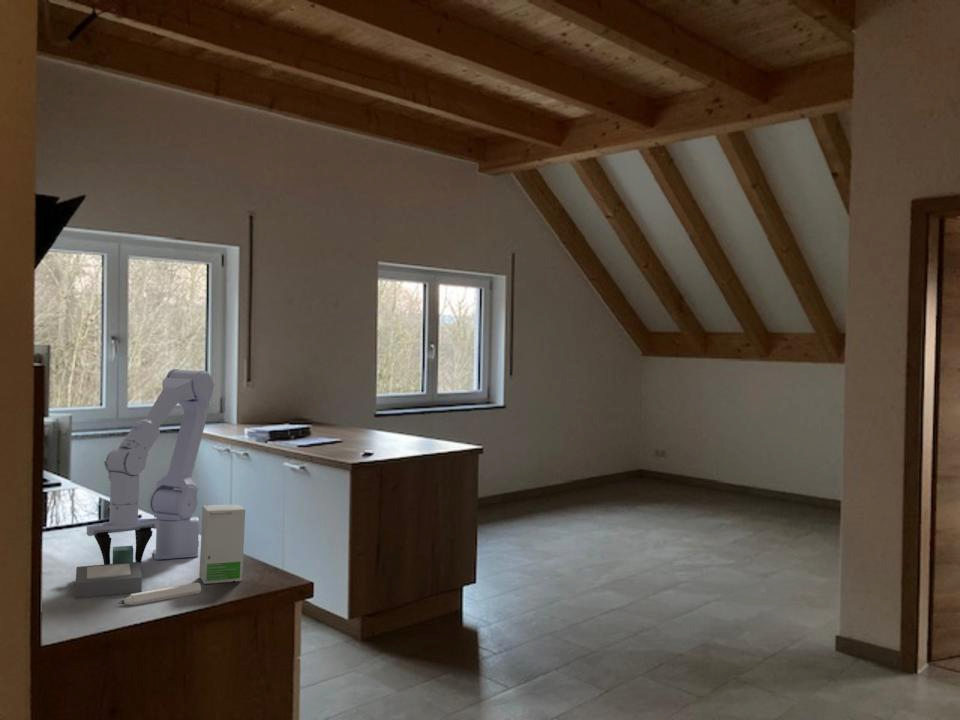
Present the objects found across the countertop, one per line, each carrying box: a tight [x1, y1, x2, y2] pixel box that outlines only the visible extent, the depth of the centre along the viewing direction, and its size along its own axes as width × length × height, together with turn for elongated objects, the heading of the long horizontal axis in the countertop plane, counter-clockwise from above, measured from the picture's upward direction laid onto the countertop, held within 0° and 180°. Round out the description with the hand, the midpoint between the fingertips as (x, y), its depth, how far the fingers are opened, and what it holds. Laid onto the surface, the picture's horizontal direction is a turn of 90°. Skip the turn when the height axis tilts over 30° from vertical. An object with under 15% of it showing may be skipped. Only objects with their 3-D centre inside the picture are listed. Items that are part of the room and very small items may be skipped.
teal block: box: [111, 545, 134, 564], centre depth 175 cm, size 4×4×5 cm
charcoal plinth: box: [74, 561, 143, 599], centre depth 164 cm, size 12×12×3 cm
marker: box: [116, 582, 202, 606], centre depth 157 cm, size 3×2×16 cm
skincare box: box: [198, 504, 246, 585], centre depth 172 cm, size 8×7×16 cm
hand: (122, 564), depth 175 cm, fingers open, 6 cm apart
